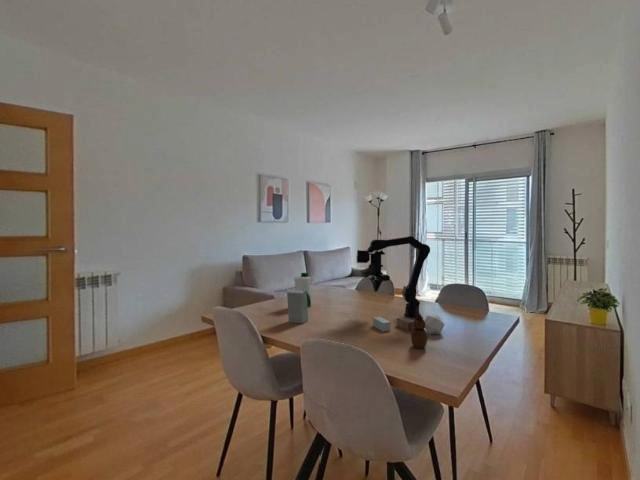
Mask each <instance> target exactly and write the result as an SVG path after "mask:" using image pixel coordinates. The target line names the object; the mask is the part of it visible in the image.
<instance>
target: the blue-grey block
mask: <svg viewBox="0 0 640 480" xmlns="http://www.w3.org/2000/svg"><path fill="white" fill-rule="evenodd" d="M372 327H374V328H376V329H378V330H380V331H381V332H388V331H389V332H390V331H391V321H389V320H388V319H385V318H383V317H381V316H377V317H372Z"/></svg>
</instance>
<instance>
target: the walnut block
mask: <svg viewBox="0 0 640 480" xmlns="http://www.w3.org/2000/svg"><path fill="white" fill-rule="evenodd" d="M413 322H414V320H412V319H410V318H408V317H405V316H398V317H396V326H397V327H399V328H401V329H403V330H405V331H406V332H412V329H413V328H414V326H413Z"/></svg>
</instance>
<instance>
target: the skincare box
mask: <svg viewBox="0 0 640 480" xmlns="http://www.w3.org/2000/svg"><path fill="white" fill-rule="evenodd" d="M286 296H287V297H286V299H287V311H288V312H287V314H288V323H291V324H304V323H307V322H308V321H309V312H308V311H309V310H308V307H307V293H306V291H302V290H295V289H293V290H290V291H288V292H287V293H286Z"/></svg>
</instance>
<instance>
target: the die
mask: <svg viewBox="0 0 640 480" xmlns="http://www.w3.org/2000/svg"><path fill="white" fill-rule="evenodd" d="M424 321H425V328H424V330H425V331H426V333H427V334H428V335H441V334H442V331H443V329H444V326H445V323H444V321H443V320H442V318H441V317H440V316H439V315H426V318H425V319H424Z"/></svg>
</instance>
